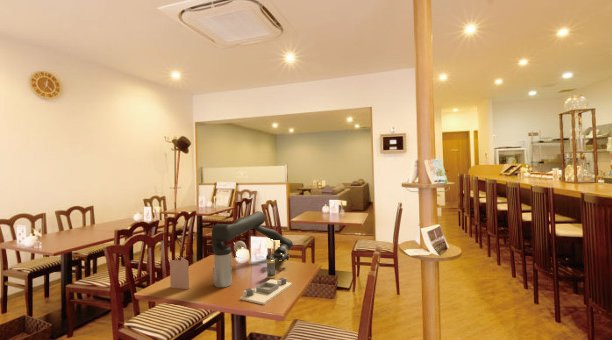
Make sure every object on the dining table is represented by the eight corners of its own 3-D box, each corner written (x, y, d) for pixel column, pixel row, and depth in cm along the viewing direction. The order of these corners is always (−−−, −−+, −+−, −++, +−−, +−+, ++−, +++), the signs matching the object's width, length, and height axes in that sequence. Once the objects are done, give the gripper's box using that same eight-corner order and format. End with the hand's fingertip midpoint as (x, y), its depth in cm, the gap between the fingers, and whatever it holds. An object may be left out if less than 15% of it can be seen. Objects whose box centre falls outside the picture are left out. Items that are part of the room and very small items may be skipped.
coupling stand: (240, 299, 146) (240, 291, 146) (270, 280, 169) (270, 274, 169) (263, 304, 140) (263, 297, 140) (292, 284, 163) (291, 278, 163)
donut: (233, 254, 224) (232, 241, 224) (235, 253, 227) (235, 240, 227) (244, 255, 220) (244, 241, 220) (247, 254, 224) (247, 240, 224)
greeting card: (190, 288, 161) (189, 260, 161) (176, 292, 156) (175, 263, 156) (183, 282, 170) (182, 256, 169) (169, 286, 165) (168, 259, 165)
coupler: (265, 278, 174) (264, 260, 174) (270, 275, 178) (269, 258, 178) (272, 279, 172) (271, 261, 172) (276, 276, 176) (276, 259, 176)
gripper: (270, 247, 203) (264, 254, 187) (291, 247, 201) (286, 254, 185) (270, 258, 203) (264, 266, 187) (291, 258, 201) (286, 266, 185)
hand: (275, 260), depth 186 cm, fingers open, 8 cm apart
